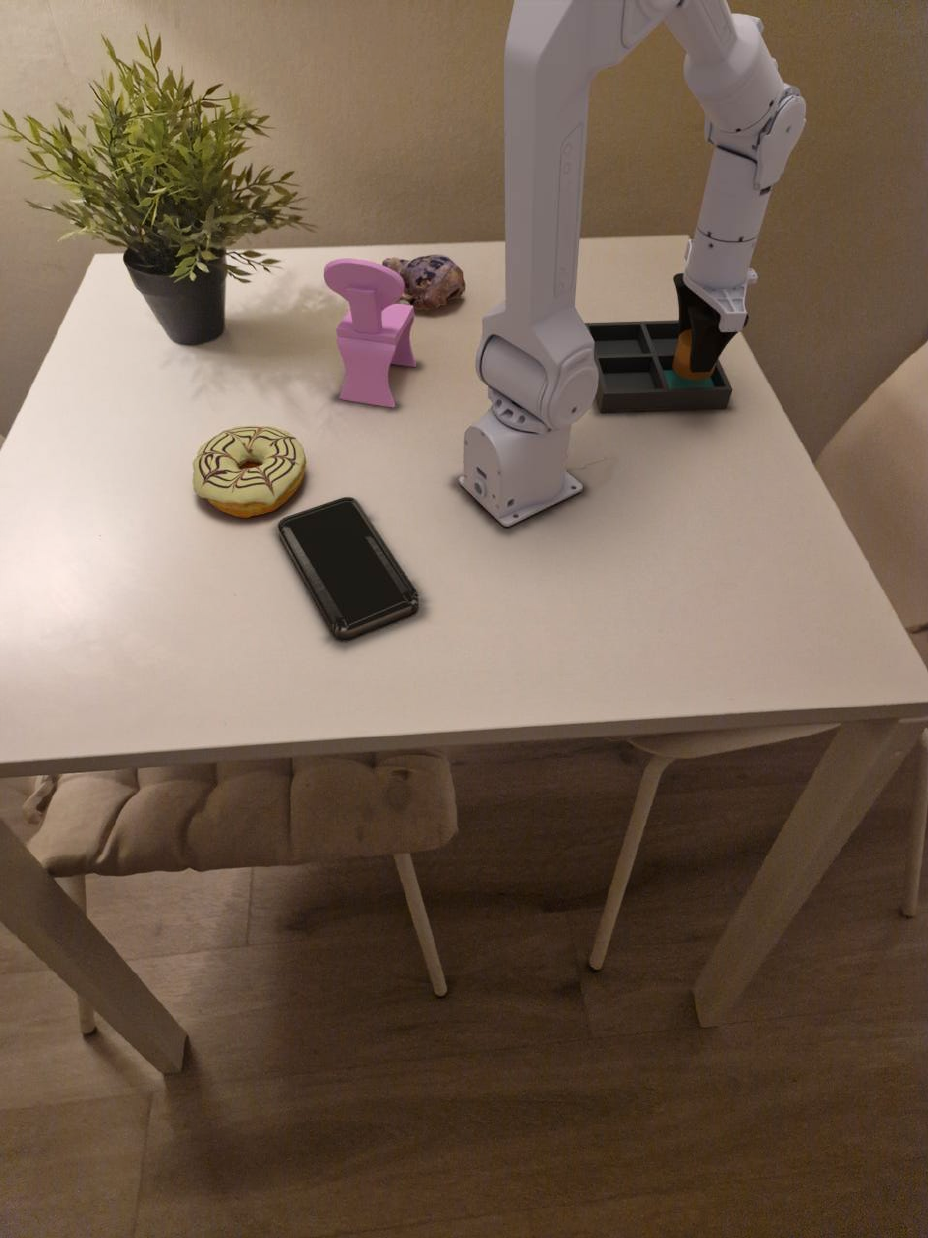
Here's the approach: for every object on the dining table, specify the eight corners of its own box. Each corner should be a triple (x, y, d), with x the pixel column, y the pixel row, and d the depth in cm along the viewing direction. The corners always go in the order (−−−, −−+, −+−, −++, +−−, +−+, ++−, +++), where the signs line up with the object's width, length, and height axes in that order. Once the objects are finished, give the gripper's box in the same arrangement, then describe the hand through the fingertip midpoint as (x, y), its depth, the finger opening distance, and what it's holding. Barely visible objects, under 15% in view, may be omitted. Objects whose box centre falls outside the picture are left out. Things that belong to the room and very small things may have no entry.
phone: (336, 635, 64) (274, 520, 72) (338, 643, 65) (276, 529, 73) (424, 600, 66) (354, 493, 75) (424, 609, 67) (355, 502, 76)
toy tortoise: (367, 281, 101) (370, 232, 97) (415, 271, 105) (419, 223, 101) (425, 325, 96) (431, 275, 91) (473, 312, 100) (481, 263, 95)
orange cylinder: (692, 385, 84) (700, 355, 81) (663, 365, 86) (670, 336, 83) (722, 371, 85) (730, 342, 83) (692, 352, 88) (700, 323, 85)
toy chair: (426, 364, 91) (421, 231, 79) (403, 409, 85) (394, 273, 74) (357, 353, 92) (342, 221, 80) (330, 397, 86) (310, 262, 75)
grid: (727, 408, 86) (732, 389, 84) (600, 412, 85) (603, 393, 83) (695, 337, 94) (700, 319, 92) (580, 341, 94) (582, 322, 92)
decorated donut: (183, 517, 75) (171, 486, 72) (219, 445, 81) (210, 414, 78) (291, 526, 74) (284, 496, 71) (319, 453, 80) (313, 422, 77)
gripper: (795, 264, 70) (751, 396, 80) (747, 193, 79) (713, 319, 89) (716, 267, 69) (682, 398, 80) (677, 194, 78) (651, 321, 89)
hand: (694, 357), depth 85 cm, fingers closed on orange cylinder, 4 cm apart
